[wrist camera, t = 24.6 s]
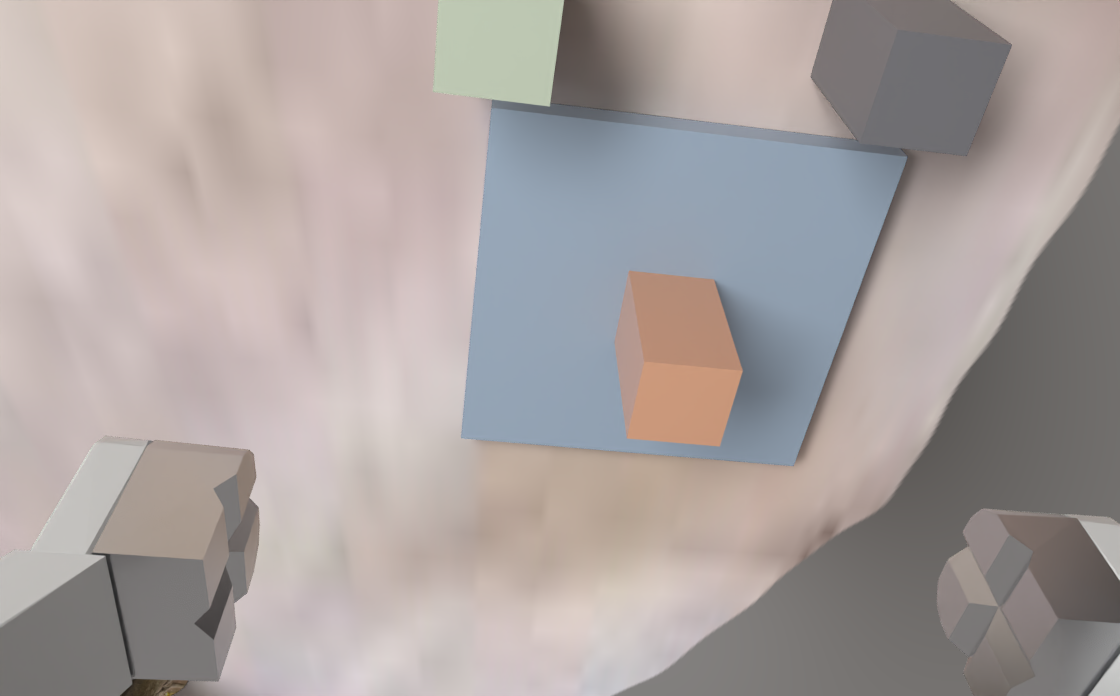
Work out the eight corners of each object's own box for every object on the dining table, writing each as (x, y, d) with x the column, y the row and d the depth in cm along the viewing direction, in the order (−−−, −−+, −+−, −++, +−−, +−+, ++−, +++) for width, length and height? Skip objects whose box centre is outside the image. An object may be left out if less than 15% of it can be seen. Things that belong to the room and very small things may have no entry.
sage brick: (455, -76, 39) (440, -32, 33) (560, -61, 40) (566, -14, 33) (448, 30, 42) (433, 91, 35) (546, 44, 42) (549, 106, 36)
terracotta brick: (628, 270, 47) (644, 361, 41) (714, 279, 48) (742, 370, 41) (614, 342, 50) (626, 438, 43) (695, 349, 50) (719, 446, 44)
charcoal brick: (839, -23, 41) (897, 29, 34) (936, -10, 41) (1012, 45, 35) (810, 76, 43) (859, 143, 37) (901, 88, 44) (966, 156, 37)
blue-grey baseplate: (492, 96, 44) (491, 107, 42) (897, 144, 45) (907, 156, 44) (462, 421, 55) (461, 438, 54) (787, 449, 57) (793, 466, 55)
